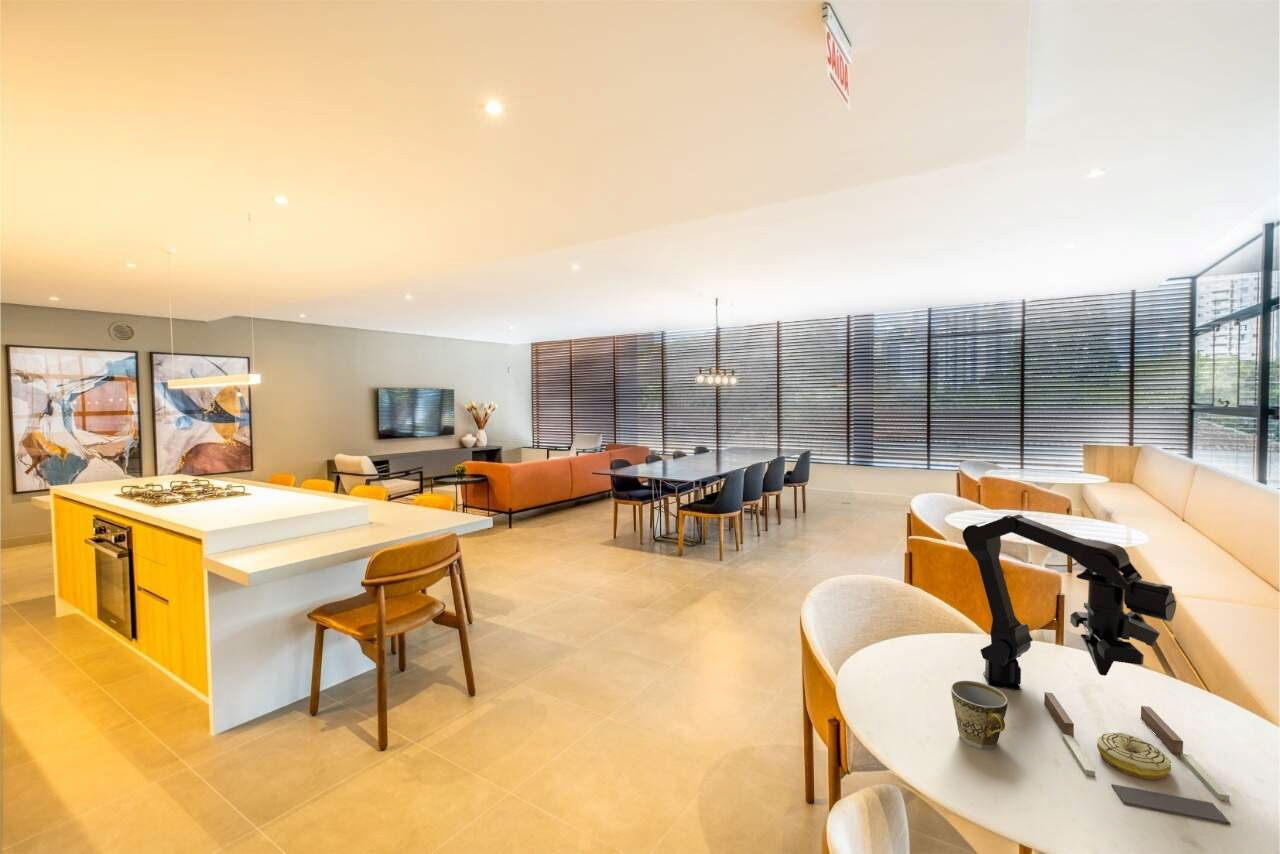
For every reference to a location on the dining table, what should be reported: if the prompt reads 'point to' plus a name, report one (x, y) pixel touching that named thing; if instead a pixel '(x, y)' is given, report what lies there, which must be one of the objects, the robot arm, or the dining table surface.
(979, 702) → the ceramic cup
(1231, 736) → the dining table surface
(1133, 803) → the dark grey rectangular plate
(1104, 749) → the decorated donut
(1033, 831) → the dining table surface
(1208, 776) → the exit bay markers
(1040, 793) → the dining table surface
